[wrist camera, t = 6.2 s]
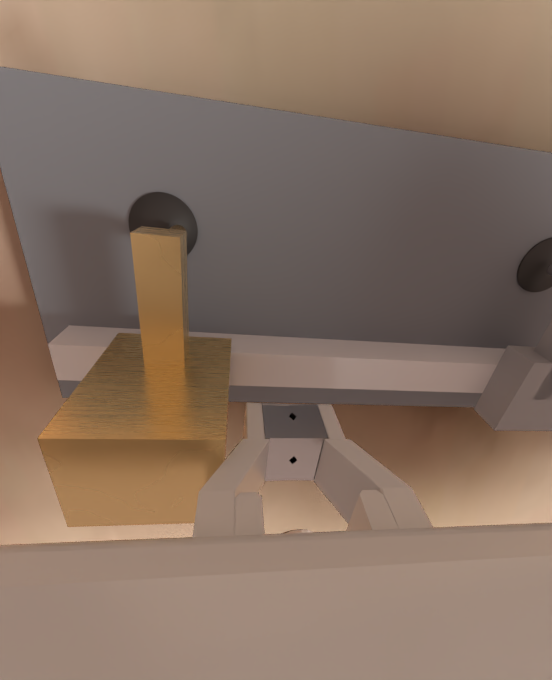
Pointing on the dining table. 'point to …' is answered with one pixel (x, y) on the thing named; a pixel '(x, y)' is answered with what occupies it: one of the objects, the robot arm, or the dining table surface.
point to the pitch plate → (290, 245)
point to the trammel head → (144, 407)
